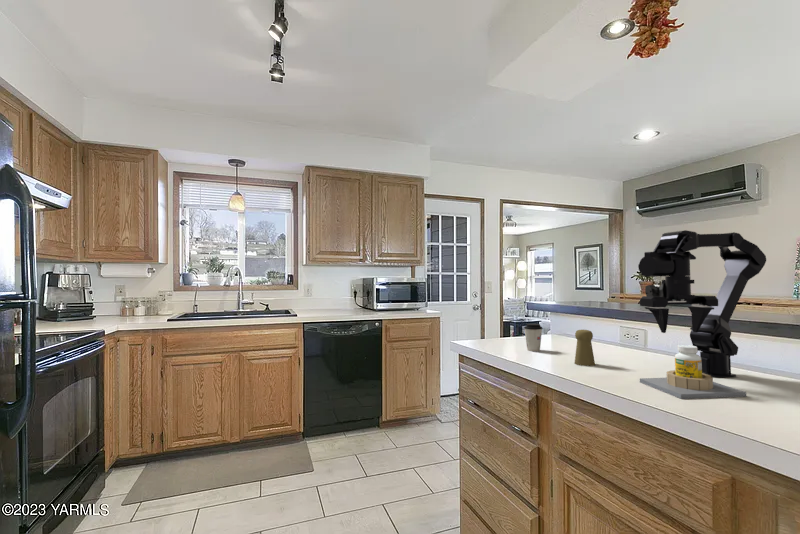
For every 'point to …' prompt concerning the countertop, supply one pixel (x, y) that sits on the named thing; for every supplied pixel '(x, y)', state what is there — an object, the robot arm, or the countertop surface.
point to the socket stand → (691, 386)
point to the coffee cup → (533, 336)
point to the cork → (584, 348)
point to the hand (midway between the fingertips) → (679, 332)
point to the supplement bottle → (688, 362)
